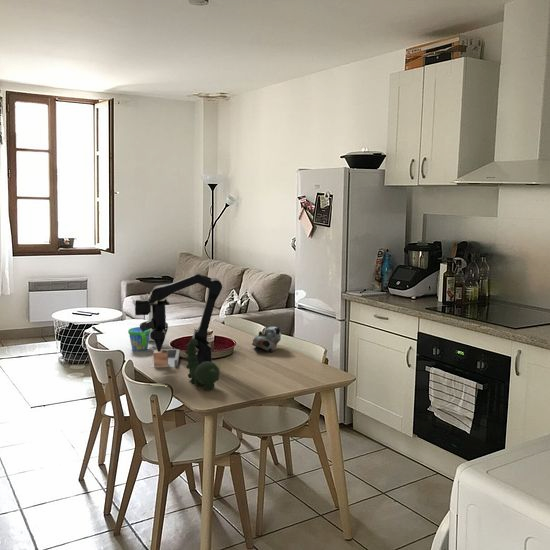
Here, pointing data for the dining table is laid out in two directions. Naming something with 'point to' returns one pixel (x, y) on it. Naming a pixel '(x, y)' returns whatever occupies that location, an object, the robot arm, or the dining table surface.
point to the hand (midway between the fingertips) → (159, 348)
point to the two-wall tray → (169, 358)
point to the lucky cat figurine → (268, 339)
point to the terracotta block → (160, 358)
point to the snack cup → (139, 338)
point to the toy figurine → (200, 368)
